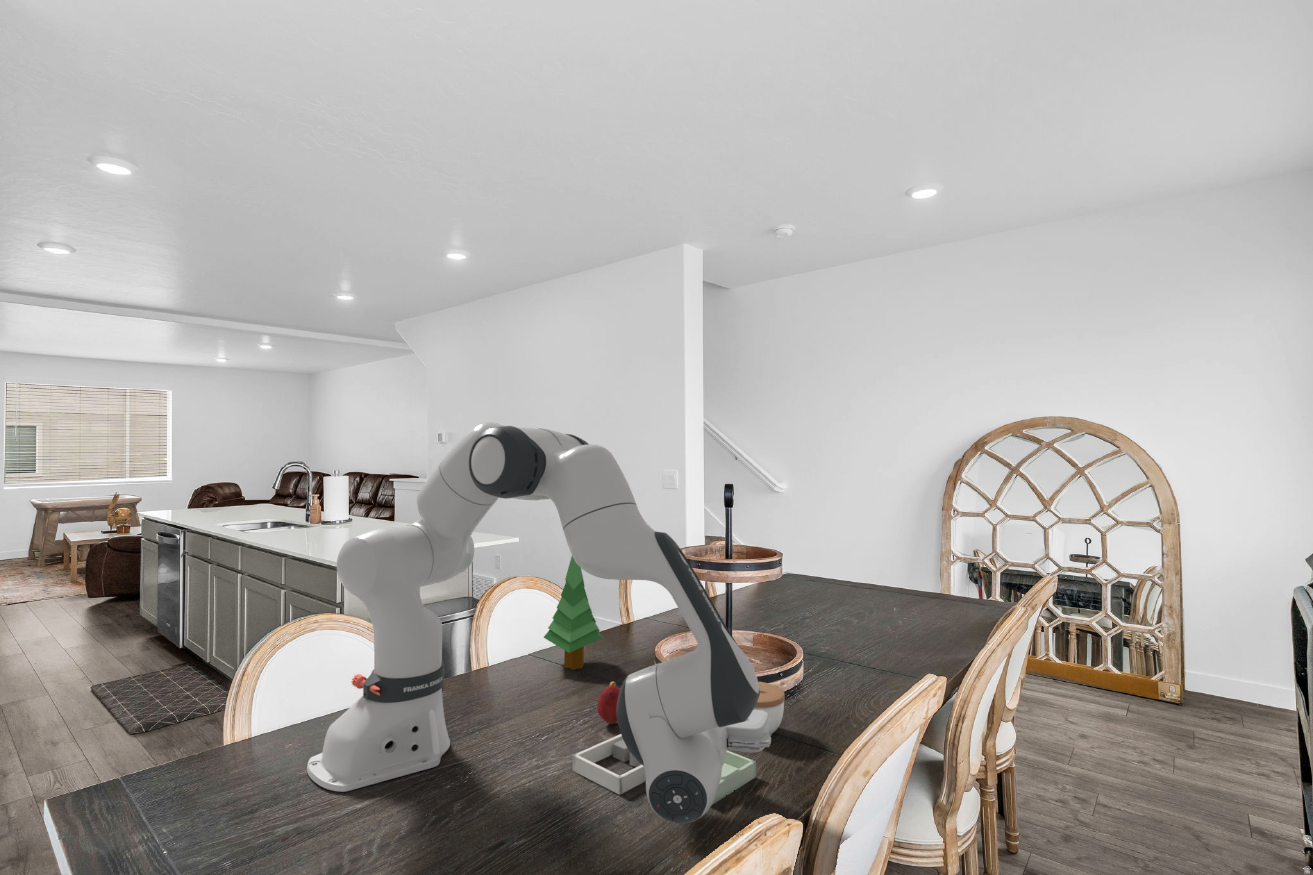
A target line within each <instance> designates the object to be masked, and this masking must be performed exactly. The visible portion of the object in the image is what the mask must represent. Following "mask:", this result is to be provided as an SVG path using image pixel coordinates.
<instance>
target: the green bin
mask: <svg viewBox="0 0 1313 875" xmlns="http://www.w3.org/2000/svg"><path fill="white" fill-rule="evenodd" d="M756 766H757V761H756V760H753V759H750V758H748V757H745V756H743V755H740V754H738V753H735V752H734V751H729V750H727V751H726V755H725V760H724V764H723V767H722V773H721V779H720V783H719V787H718V790H717V794H716V796H715V799H714V801H713V803H712V805H711V806H713V805H714V804H717V803H718V802H719V801H721V800H722V799H724V798H726V797H727V796H728V795H730V794H732V793H733V792H735V791H737V790H738V789H739V788H741V787H743V786H744V785H745V784H747V783H749V782H750V781H752V780H753V779H755V778H757V775H756V774H757V770H756V769H757V768H756ZM734 790H735V791H734ZM726 795H727V796H726Z"/></svg>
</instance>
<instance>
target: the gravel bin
mask: <svg viewBox="0 0 1313 875" xmlns="http://www.w3.org/2000/svg"><path fill="white" fill-rule="evenodd" d="M610 756H612V757H613V758H614V759H617V760H618V761H621V762H623V763H626V762H628V761H629V766H632V767H635V768H632V769H631V770H628V771H626V772H625V773H622V774H620V775H619V774H617V773H615V772H613V771H611V770H609V769H607V768H605V767H603V766H601V765H599V764H596V763H597V762H599V761H601V760H604V759H606V758H608V757H610ZM572 772H574V773H576V774H578V775H580V776H582V777H584V778H586V779H588V780H590V781H591V782H594V784H595V783H596V784H598V785H600V786H601V787H603V788H605V789H607V790H609V791H611V792H612V793H615V794H617V795H618V796H620V795H623V794H624V793H626V792H628V791H630V790H632V789H634V788H635V787H637V786H640V785H642V784H643V783H646V773H645V767H644V766H643V765H642V764H641V763H639V762H638V760H637V759H636V758H635V757H634V756H633V755H632V754H631V752H630V751H629V749H628V748H627V746H626V744H625V742H624V740H623V738H622V735H621V733H620V734H618V735H615V736H614V737H611V738H609V739H607V740H605V741H602V742H599V743H597V744H595V745H593V746H590V747H589V748H586V749H584V750H581V751H579V752H576V753H574V754H573V755H572Z"/></svg>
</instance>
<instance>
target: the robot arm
mask: <svg viewBox="0 0 1313 875" xmlns="http://www.w3.org/2000/svg"><path fill="white" fill-rule="evenodd" d="M416 497H417V498H416V504H417V510H418V513H419V516H420V518H419V519H417V520H416V521H414V522H413V523H411V524H410V523H409V524H407V525H406V524H405V525H400V526H394V527H385V528H376V529H373V530H370V531H369V530H368V531H367V532H363V533H361V534H358V535H356V536H354V537H351V538H349V539H347V541H345V542H344V543H343V545H342V546H341V548H340V550H339V552H338V555H337V558H336V559H337V560H336V573H337V576H338V579H339V582H340V583H341V585H342V586H343V587H344V589H345V590H346V591H347V592H348V593H350V594H352V595H353V596H355V597H356V598H358V599H359V601H361V603H362V604H363V606H364V607H365V608H366V611H367V613H368V615H369V617H370V620H371V625H372V630H373V650H374V651H373V652H374V655H373V656H374V662H373V663H374V665H373V668H374V669H373V670H371V673H370V675H368V677H366V676H363V674H359V673H358V674H355V675H354V676H353V678H352V679H351V685H353V687H355V688H357V689H359V690H360V689H361V690H362V691H363V692H362V693H363V694H362V695H361V696H360V697H359V698H358V699H357V700H356V701H355V702H354V703H353V704H352V705H351V707H348V709H347V710H346V711H344V713H343V714H341V715H340V716H339V717H338V718H337V719H336V720H335V721H333V722H332V723H331V724H330V725H329V727H328V729H327V731H326V734H325V737H324V742H323V746H322V747H323V748H322V752H320V753H318V754H316V755H314V756H311V757H310V758H309V760H308V762H307V766H306V772H307V774H308V777H309V778H310V779H311V780H312V781H313V782H314V783H316V784H317V785H318V786H319V787H322V788H324V789H326V790H329V791H333V792H339V793H340V792H341V793H344V792H345V793H346V792H349V791H353V790H357V789H361V788H364V787H368V786H371V785H375V784H379V783H382V782H384V781H389V780H392V779H396V778H399V777H403V776H407V775H411V774H414V773H418V772H420V771H426V770H428V769H431V768H435V767H437V766H439V765H440V763H441V758H442V756H443V755H444V754H445V753H446V752H447V751H448V750H449V748H450V746H451V740H450V738H449V733H448V730H447V725H446V717H445V711H444V703H443V702H444V701H443V693H444V689H445V664H444V663H443V662H442V661H443V660H442V659H443V658H442V655H443V624H442V623H443V622H442V621H441V619H440V617H439V616H438V615H437V614H435V613H434V612H433V611H431V610H429V609H427V608H425V607H424V605H423V602H422V597H421V591H420V590H421V587H424V586H429V585H433V584H437V583H438V584H439V583H443V582H446V581H448V580H450V579H453V578H454V577H457V576H459V575H460V574H462V573H464V572H465V571H467V569H469V568H470V566H471V565H472V562H473V560H474V556H475V543H474V540H473V537H472V535H473V532H474V531H475V529H476V528H477V526H478V525H479V524H480V522H481V521H482V520H483V518H485V516H486V515H487V513H489V511H490V510H491V508H492V507H493V505H495V503H496V502H497V501H498V500H499V499H505V500H506V499H515V500H524V501H542V500H551V501H552V503H553V505H554V506H555V507H556V511H557V513H558V516H559V520H560V523H561V527H562V531H563V534H564V537H565V541H566V543H567V546H568V549H569V552H570V553H571V557H572V556H573V558H574V560H575V562H576V563H577V564H578V565H579V566H580V567H581V570H583V571H585V572H586V573H588V574H589V575H592V576H594V577H597V578H599V579H603V580H613V581H616V580H618V581H647V582H648V581H649V582H653V583H657V584H659V585H661V586H662V587H663V588H664V589H665V590H666V591H667V592H668V593H669V594H670V596H671V597H672V599H673V601H674V603H675V604H676V606H677V608H678V610H679V611H680V614H681V616H682V617H683V619H684V620H685V622H686V624H687V626H688V628H689V630H690V632H691V634H692V635H693V637H694V639H695V641H696V643H697V647H696V648H695V649H693V650H692V651H689V652H687V653H684V654H682V655H678V656H676V657H674V658H670V659H668V660H666V661H663V662H658V663H656V664H652V665H650V666H648V667H645V668H642V669H640V670H637V671H635V672H632V673H629V674H627V675H626V677H625V678H624V680H623V682H622V684H621V686H620V688H619V689H620V692H619V696H618V701H617V707H616V715H617V722H616V723H617V725H618V730H619V733H620V734H621V735H622V738H623V740H624V742H625V744H626V746H627V748H628V749H629V751H630V752H631V754H632V755H633V756H634V757H635V758H636V759H637V760H638V762H639V763H641V764H642V765H643V766H644V767H645V773H646V781H645V792H646V798H647V801H648V803H649V805H650V807H651V809H652V811H653V812H654V814H656V815H657V816H658V817H660V818H661V819H663V820H665V821H667V822H670V823H672V824H673V823H674V824H679V825H680V824H682V825H683V824H689V823H693V822H695V821H697V820H699V819H700V818H702V817H703V816H704V815H705V814H706V813H707V812H708V811H709V810H710V808H711V807H712V806H713V805H712V803H713V801H714V799H715V796H716V794H717V790H718V787H719V783H720V779H721V773H722V767H723V764H724V760H725V755H726V751H727V750H728V751H730V752H741V753H752V754H753V753H758V752H759V753H760V752H762V751H763V750H764V749H766V748H769V747H770V746H771V743H772V737H770V735H769V734H770V715H769V714H768V713H767V712H765V711H762V710H753V709H754V707H755V705H756V703H757V701H758V698H759V695H760V690H759V685H758V682H759V680H758V676H757V674H756V670H755V669H754V666H753V664H752V663H751V661H750V659H749V658H748V657H747V655H746V654H745V653H744V652H743V650H742V649H741V647H740V646H739V645H738V643H737V642H736V639H735V638H734V637H733V636H732V634H731V632H730V630H729V629H728V627H727V626H726V624H725V622H724V620H723V618H722V616H721V615H720V613H719V611H718V610H717V608H716V606H715V604H714V602H713V601H712V599H711V598H710V596H709V594H708V592H707V591H706V588H705V587H704V586H703V584H702V582H701V580H700V578H699V576H698V575H697V573H696V571H695V570H694V568H693V567H692V565H691V563H690V562H689V560H688V558H687V557H686V556H685V554H684V552H683V551H682V549H681V548H680V546H679V545H678V543H677V542H676V541H675V540H674V539H673V538H672V536H670V535H669V534H668V533H667V532H664V531H662V532H661V531H656V530H654V529H653V528H652V527H651V526H650V525H649V524H648V523H647V522H646V521H645V519H644V518H643V516H642V515H641V512H640V510H639V508H638V505H637V503H636V500H635V497H634V494H633V491H632V490H631V487H630V485H629V483H628V481H627V479H626V476H625V475H624V473H623V471H622V469H621V467H620V465H619V464H618V462H617V460H616V458H615V457H614V455H613V453H612V452H610V451H609V450H608V449H607V448H606V447H604V446H602V445H598V444H591V443H590V444H589V443H588V442H587V441H586V440H585V439H582V438H580V437H579V436H577V435H574V434H570V433H562V432H559V431H557V430H551V429H546V428H534V427H533V428H532V427H516V426H513V425H503V424H500V423H497V422H484V423H479V424H478V425H477V426H475V427H473V428H472V429H471V430H469V432H467V433H466V434H465V435H464V436H463V437H462V438H461V439H459V440H458V442H457V443H456V444H455V445H454V446H453V448H451V449H450V450H449V452H448V453H447V454H446V456H444V458H443V459H442V461H441V462H440V463H439V465H437V467H436V468H435V470H434V471H433V472H432V473H431V475H430V476H429V477H428V479H427V480H426V481H425V483H424V484H423V485H422V487H421V488H420V490H419V491H418V494H417V496H416Z"/></svg>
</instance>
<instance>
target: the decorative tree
mask: <svg viewBox="0 0 1313 875" xmlns="http://www.w3.org/2000/svg"><path fill="white" fill-rule="evenodd" d="M582 570H583V569H582V568H581V567H580V566H579V565H578V564H577V563H576V562H575V560H574V558H573V556H572V555H571V557H570V560H569V565H568V568H567V572H566V575H565V578H564V579H565V583H564V587H563V590H562V592H561V594H560V596H561V597H560V599H559V602H558V604H557V606H556V611H555V613H554V615H553V617H552V622H551V623H550V624H549V625H548V627H547V629H548V631H547V632H546V634H544V636H543V638H544V639H545V640H547V641H548V642H550V643H552V644H553V645H555V646H557V647H558V648H560V649H561V650H564V659H563V660H564V663H563V664H564V667H563V668H565V669H569V670H576V669H583V667H584V662H585V660H584V657H585V655H584V654H585V653H584V652H585V648H584V647H585V646H588V645H589V644H591V643H594V642H596V641H598V640H604V639H605V638H604V637H603V635H602V634H601V632H600V631H601V630H600V628H599V627H598V625H597V621H596V618H595V617H594V615H593V611H592V608H591V606H590V603H589V598H588V595H587V592H586V590H585V583H584V582H585V581H584V576H583V571H582Z"/></svg>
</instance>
